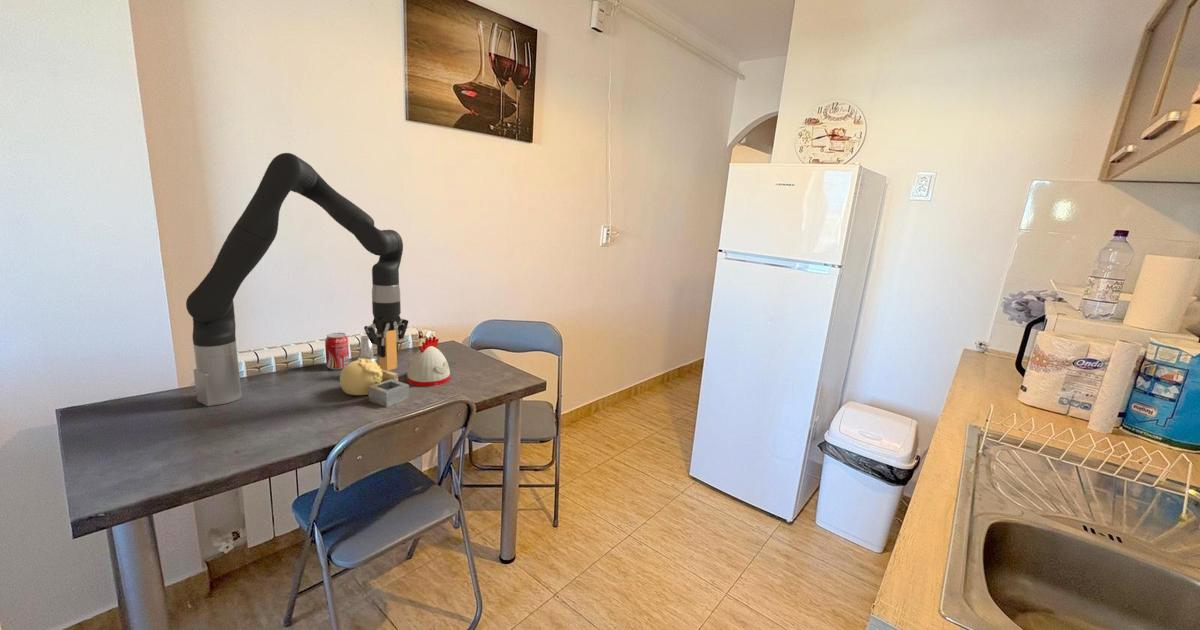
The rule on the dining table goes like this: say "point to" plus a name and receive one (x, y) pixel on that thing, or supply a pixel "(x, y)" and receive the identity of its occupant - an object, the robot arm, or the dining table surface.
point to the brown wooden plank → (389, 375)
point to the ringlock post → (367, 349)
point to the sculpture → (360, 376)
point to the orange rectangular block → (389, 352)
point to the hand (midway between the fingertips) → (388, 354)
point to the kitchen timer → (428, 366)
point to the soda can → (336, 351)
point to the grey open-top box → (388, 392)
